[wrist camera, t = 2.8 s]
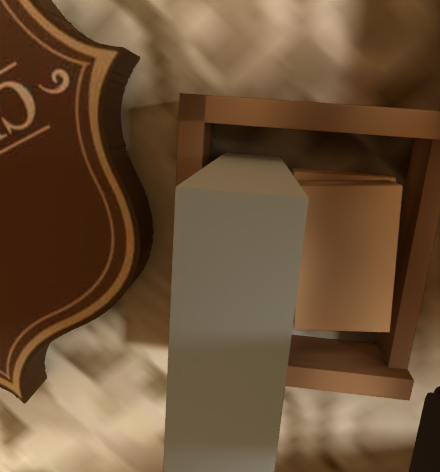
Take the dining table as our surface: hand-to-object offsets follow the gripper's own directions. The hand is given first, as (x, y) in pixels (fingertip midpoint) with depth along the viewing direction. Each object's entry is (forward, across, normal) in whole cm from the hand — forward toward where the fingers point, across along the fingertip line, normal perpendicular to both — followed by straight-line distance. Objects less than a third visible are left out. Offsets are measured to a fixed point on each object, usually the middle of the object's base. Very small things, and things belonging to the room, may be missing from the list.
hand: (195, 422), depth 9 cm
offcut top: (+14, -6, 0) cm, 15 cm away
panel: (+16, -1, 0) cm, 16 cm away
